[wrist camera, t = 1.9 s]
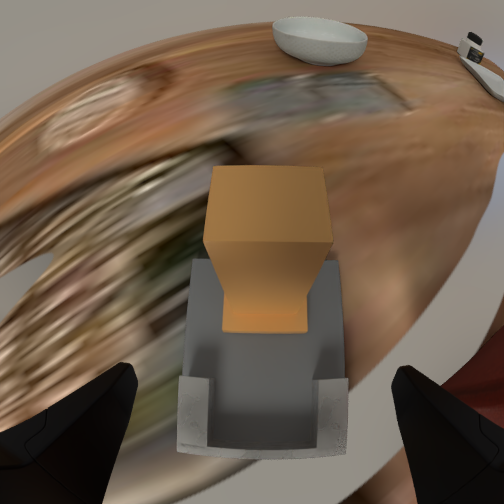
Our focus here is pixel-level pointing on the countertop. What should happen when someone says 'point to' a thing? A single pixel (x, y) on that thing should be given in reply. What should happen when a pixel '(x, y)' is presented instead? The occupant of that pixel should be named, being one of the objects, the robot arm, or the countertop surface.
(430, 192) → the countertop surface
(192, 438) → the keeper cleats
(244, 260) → the brown boxy piece
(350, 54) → the cereal bowl
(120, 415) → the robot arm
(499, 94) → the salad plate
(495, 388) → the plant pot
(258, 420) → the board
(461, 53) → the medicine bottle
